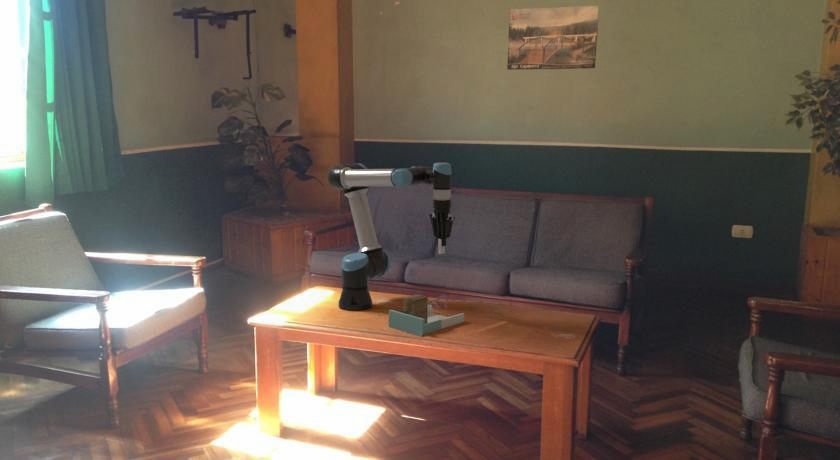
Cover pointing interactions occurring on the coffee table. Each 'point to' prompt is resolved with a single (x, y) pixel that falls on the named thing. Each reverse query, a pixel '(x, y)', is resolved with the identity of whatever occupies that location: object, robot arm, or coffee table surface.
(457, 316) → the teal and white tray
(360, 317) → the coffee table surface
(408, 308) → the walnut block
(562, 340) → the coffee table surface
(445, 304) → the decorative key
